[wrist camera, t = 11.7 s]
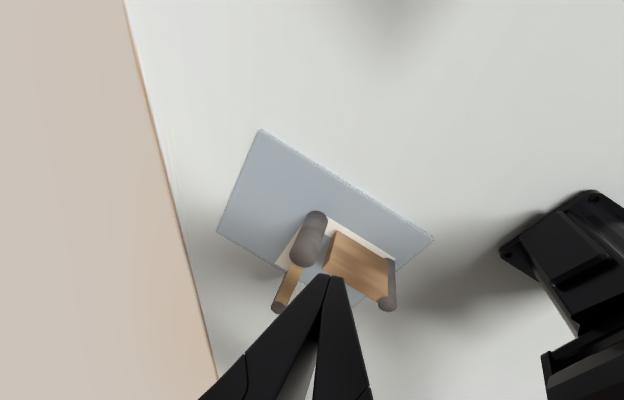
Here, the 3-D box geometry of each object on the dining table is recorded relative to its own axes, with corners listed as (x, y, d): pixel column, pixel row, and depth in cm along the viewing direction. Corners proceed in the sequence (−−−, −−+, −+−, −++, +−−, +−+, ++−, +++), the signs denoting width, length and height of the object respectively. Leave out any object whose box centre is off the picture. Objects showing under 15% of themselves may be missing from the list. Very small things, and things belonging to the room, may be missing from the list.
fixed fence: (400, 257, 21) (403, 306, 17) (386, 268, 22) (386, 318, 18) (314, 204, 20) (296, 242, 16) (303, 218, 21) (284, 258, 17)
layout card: (432, 237, 19) (433, 240, 19) (349, 306, 26) (349, 310, 25) (260, 128, 18) (258, 130, 18) (218, 229, 25) (215, 231, 24)
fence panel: (302, 234, 21) (287, 267, 18) (315, 240, 21) (303, 274, 18) (284, 276, 24) (269, 310, 21) (295, 281, 24) (282, 316, 21)
